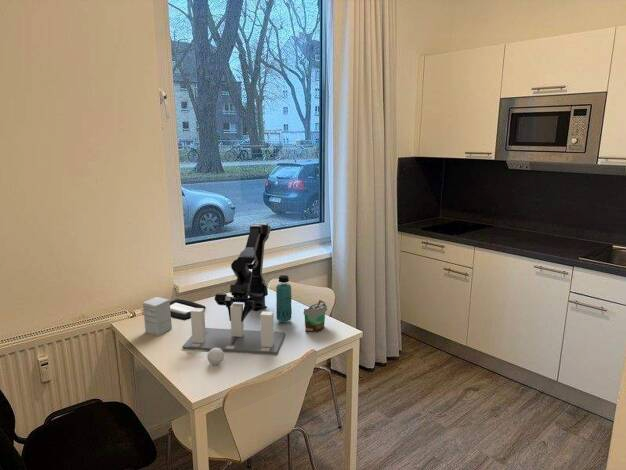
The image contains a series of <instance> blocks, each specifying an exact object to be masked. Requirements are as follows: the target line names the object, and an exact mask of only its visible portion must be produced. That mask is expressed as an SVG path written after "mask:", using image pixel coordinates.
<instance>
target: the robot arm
mask: <svg viewBox="0 0 626 470" xmlns="http://www.w3.org/2000/svg"><path fill="white" fill-rule="evenodd" d="M270 233H271V226H270V225H269V223H267V222H266V223H265V222H254V223H253V224H252V225H251V224H250V225H249V233H248V237H247V239H246V240H247V241H246V244H245V248H244V249H243V250H242V251H241V252H240V254H239V256H237V258H236V259H235V260H233V261H232V262H231V265H230V268H231V271H232V272H233V274H234V275H235V277H236V281H235V282H234V284H233V283H230V285H229V286H230V287H229V293H230V295H231V296H228V295H227V294H226V293H222V292H221V293H219V292H216V294H215V296H214V301H215V303H216V304H217V305H219V306H225V307H226V308H227V309H228V310H227V311H228V319H229V321H230V322H231V313H230V306H231V305H232V304H234V303H240V304H243V313H242V317H241V322H243V321H245V320H246V318H247V316H248V315H249V313H250V312H251V311H254V312H257V311H260V310H263V309H264V310H265V309H267V308H268V307H267V306H266V297H267V296H268V294H269V292H268V287H267V284H266V280H265V278H264V275H263V264H264V257H265V255H264V253H265V244H266V242H267V240H268V239H269V237H270Z"/></svg>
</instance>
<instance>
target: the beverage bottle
mask: <svg viewBox="0 0 626 470" xmlns="http://www.w3.org/2000/svg"><path fill="white" fill-rule="evenodd" d="M289 281H290V279H289V276H288V275H285V274H282V275H279V277H278V284H277V285H276V287H275V288H276V289H275V290H276V306H275V307H276V313H275V314H276V320H277V321H278V322H290V321H291V320H292V315H293V313H292V285H291V284H290V283H288V282H289Z"/></svg>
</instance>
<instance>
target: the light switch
mask: <svg viewBox="0 0 626 470" xmlns="http://www.w3.org/2000/svg"><path fill="white" fill-rule="evenodd" d="M193 308H204V311H205V310H206V309H207V307H206V306H205V305H203V304H201V303H197V302H194V301H189V300H186V299H179V298H176V299H173V300H170V311H171V318H174V319H179V320H182V321H187V320H191V310H192V309H193Z"/></svg>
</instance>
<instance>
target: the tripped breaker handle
mask: <svg viewBox="0 0 626 470" xmlns="http://www.w3.org/2000/svg"><path fill="white" fill-rule="evenodd" d="M243 309H244V303H233V304H232V305H231V306H230V313H231V321H230V329H231V335H232V336H237V337H242V336H243V334H244V330H245V327H244V326H245V325H244V324H245V323H244V321H245V320H244V321H243V322H241V317H242V313H243Z"/></svg>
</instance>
